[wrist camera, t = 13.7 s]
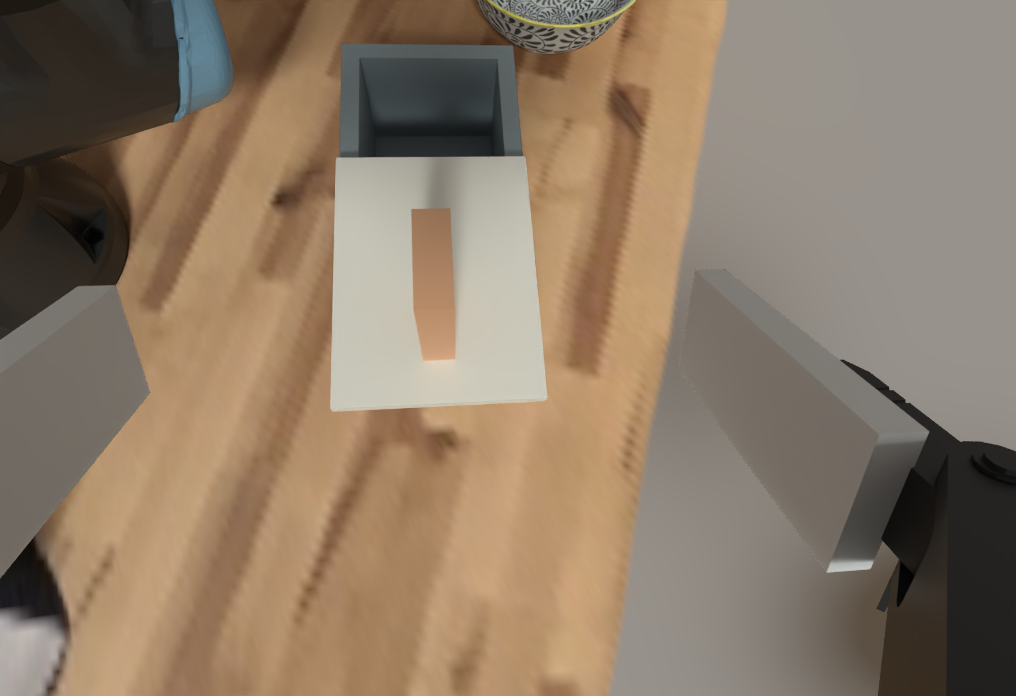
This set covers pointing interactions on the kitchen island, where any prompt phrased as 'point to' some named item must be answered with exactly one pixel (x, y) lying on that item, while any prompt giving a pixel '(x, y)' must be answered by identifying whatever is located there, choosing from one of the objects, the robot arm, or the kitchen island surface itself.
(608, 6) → the bowl
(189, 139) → the kitchen island surface
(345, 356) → the lid
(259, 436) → the kitchen island surface
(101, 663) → the kitchen island surface
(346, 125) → the carton
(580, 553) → the kitchen island surface
